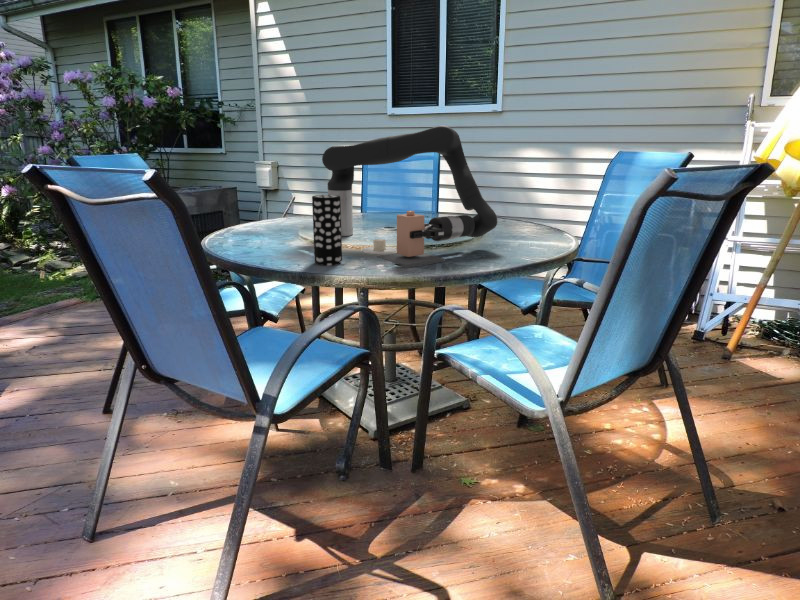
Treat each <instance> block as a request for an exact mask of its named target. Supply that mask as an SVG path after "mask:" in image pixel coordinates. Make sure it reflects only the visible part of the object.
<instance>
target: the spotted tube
mask: <svg viewBox="0 0 800 600" xmlns="http://www.w3.org/2000/svg"><path fill="white" fill-rule="evenodd" d="M311 202H312V204H311V205H312V207H311V208H312V225H313V226H312V228H313V229H312V230H313V251H314V252H313V253H314V256H313V257H314V264H315V265H318V266H326V267H327V266H337V265H340V264H342V261H343V249H342V248H343V247H342V243H343V242H342V236H341V201H340V196H338V195H328V194H316V195H312V196H311Z"/></svg>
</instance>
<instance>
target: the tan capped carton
mask: <svg viewBox="0 0 800 600" xmlns="http://www.w3.org/2000/svg"><path fill="white" fill-rule="evenodd" d="M415 211H416V210H406V213H404V214H403V213H402V214H396V249H397V251H396V253H397V254H400V255H404V256H407V257H411V256H417V255H423V254H424V253H425V238H414V239H411V238H410V232H411V231H417V230H422V229H424V223H425V215H424V214H418V213H415Z"/></svg>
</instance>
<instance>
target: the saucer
mask: <svg viewBox="0 0 800 600" xmlns="http://www.w3.org/2000/svg"><path fill="white" fill-rule="evenodd" d="M372 243H373V246H368V247H364V248H362V249H361V252H362V253H364V254H365V253H366V254H373V255H377V254H378V255H387V254H394V253H397V247H391V246H386V244H387V243H386V239H381V238H379V239H373V242H372Z"/></svg>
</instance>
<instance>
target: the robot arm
mask: <svg viewBox="0 0 800 600" xmlns="http://www.w3.org/2000/svg"><path fill="white" fill-rule="evenodd" d="M428 153H429V154H431V153H437V154H439V155H441V156H442V157H443V159H444V161H445V162H446V164H447V165H448V167H449V169H450V172H451V176H452V178H453V183H454V186H455V189H456V193H457V196H458V198H459V199H460V202H461V204H462V206H463V208H464V209H465V211H473V210H474V211H475V212H476V215H475V216H473V217H472V216H470V215H467V214H461V215H446V216H445V215H444V216H437V217H436V216H435V217H433V218H431V219H430V220H429V221H428V223H425V222H424V229H422V230H417V231H411V232H410V238H411V239H414V238H424V239H427V240H430V239H431V240H432V241H434V242H441V241H446V240H448V241H449V240H453V239H457V238H464V237H469V238H479V237H483V236H485V235H486V234H488V233H489V232H491V231H493V230H494V229H495V228H496V227H497V225H498V217H497V214H496V213H495V211H494V210H493V209H492V207H491V206H490V205H489V204H488V202H487V201H486V200H485V199H484V197H483V195H482V193H481V192H480V189H479V186H478V183H476V181H475V178H474V176H473V174H472V172H471V169H470V167H469V165H468V161H467V159H466V157H465V156H466V155H465V154H464V153H465V152H464V149H463V144H462V141H461V138H460V135H459V134H458V132H457V130H454V129H453V128H451V127H450V126H447V125H438V126H434V127H430V128H427V129H424V130H421V131H420V130H419V131H417V132H411V133H402V134H395V135H389V136H384V137H380V138H376V139H370V140H367V141H364V142H360V143H357V144H352V145H334V146H330V147H328V148H327V149H325V150H324V152H323V154H322V157H321V158H322V159H321V160H322V161H321V162H322V164H323V166H324V167H325V168H326V169H327V170H329V171H331V178H330V179H329V180H328V182H327V195H338V196H340V201H341V237H348V236H353V235H354V223H353V220H354V219H353V184H354V179H355V167H356V166H376V165H388V164H394V163H399V162H401V161H404V160H407V159H408V158H411V157H413V156H415V155H419V154H420V155H421V154H428Z"/></svg>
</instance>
